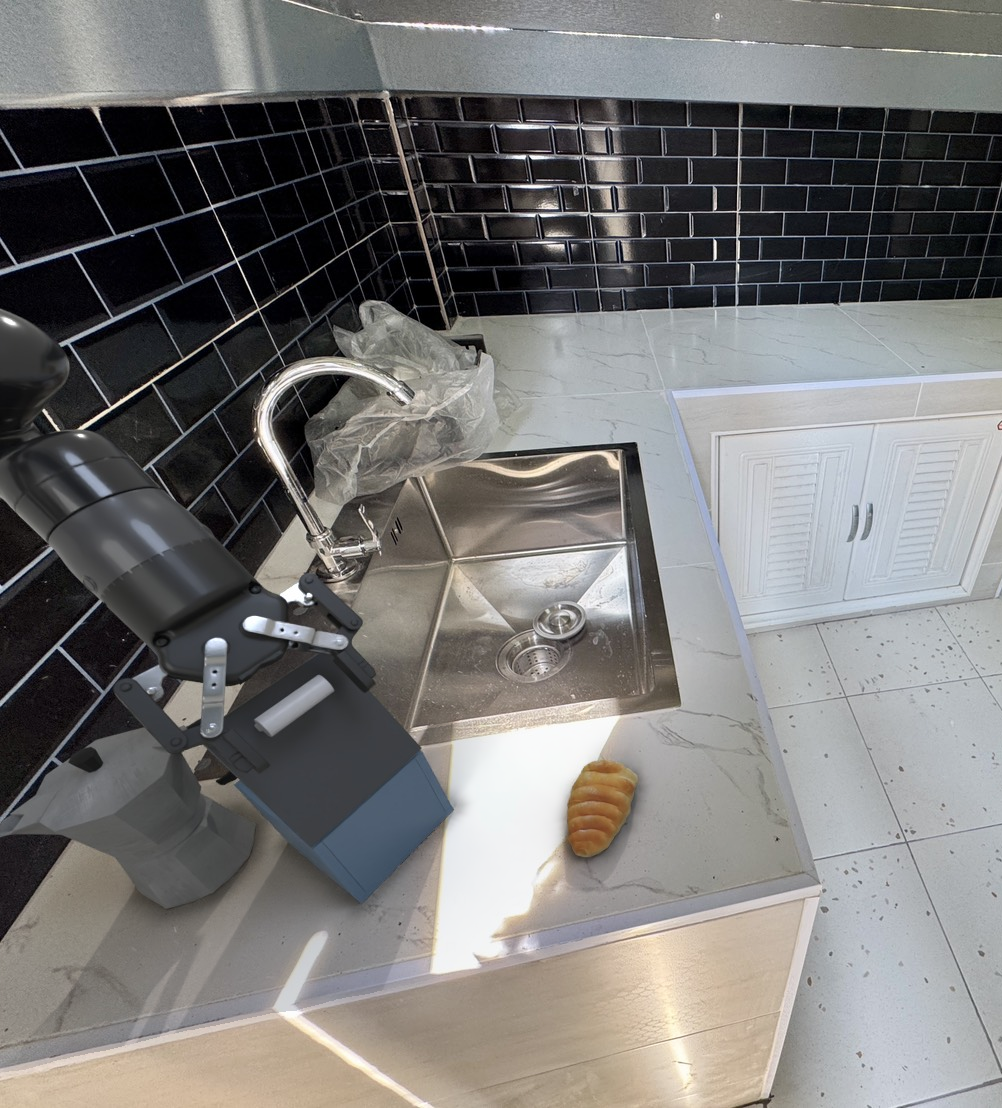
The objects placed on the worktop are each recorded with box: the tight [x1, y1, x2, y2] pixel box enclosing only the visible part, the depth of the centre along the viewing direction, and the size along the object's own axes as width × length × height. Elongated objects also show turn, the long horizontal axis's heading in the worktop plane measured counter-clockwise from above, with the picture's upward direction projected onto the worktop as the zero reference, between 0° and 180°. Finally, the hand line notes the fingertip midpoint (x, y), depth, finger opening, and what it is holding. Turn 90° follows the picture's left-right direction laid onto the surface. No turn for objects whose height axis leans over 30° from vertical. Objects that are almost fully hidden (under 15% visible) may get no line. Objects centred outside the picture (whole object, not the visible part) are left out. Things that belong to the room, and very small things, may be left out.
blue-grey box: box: [233, 749, 455, 905], centre depth 58 cm, size 12×11×11 cm
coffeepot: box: [0, 717, 256, 910], centre depth 54 cm, size 15×9×18 cm, turn 136°
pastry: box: [566, 759, 639, 858], centre depth 62 cm, size 9×7×4 cm
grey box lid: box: [203, 653, 423, 847], centre depth 49 cm, size 12×11×6 cm
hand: (320, 727), depth 47 cm, fingers open, 8 cm apart
